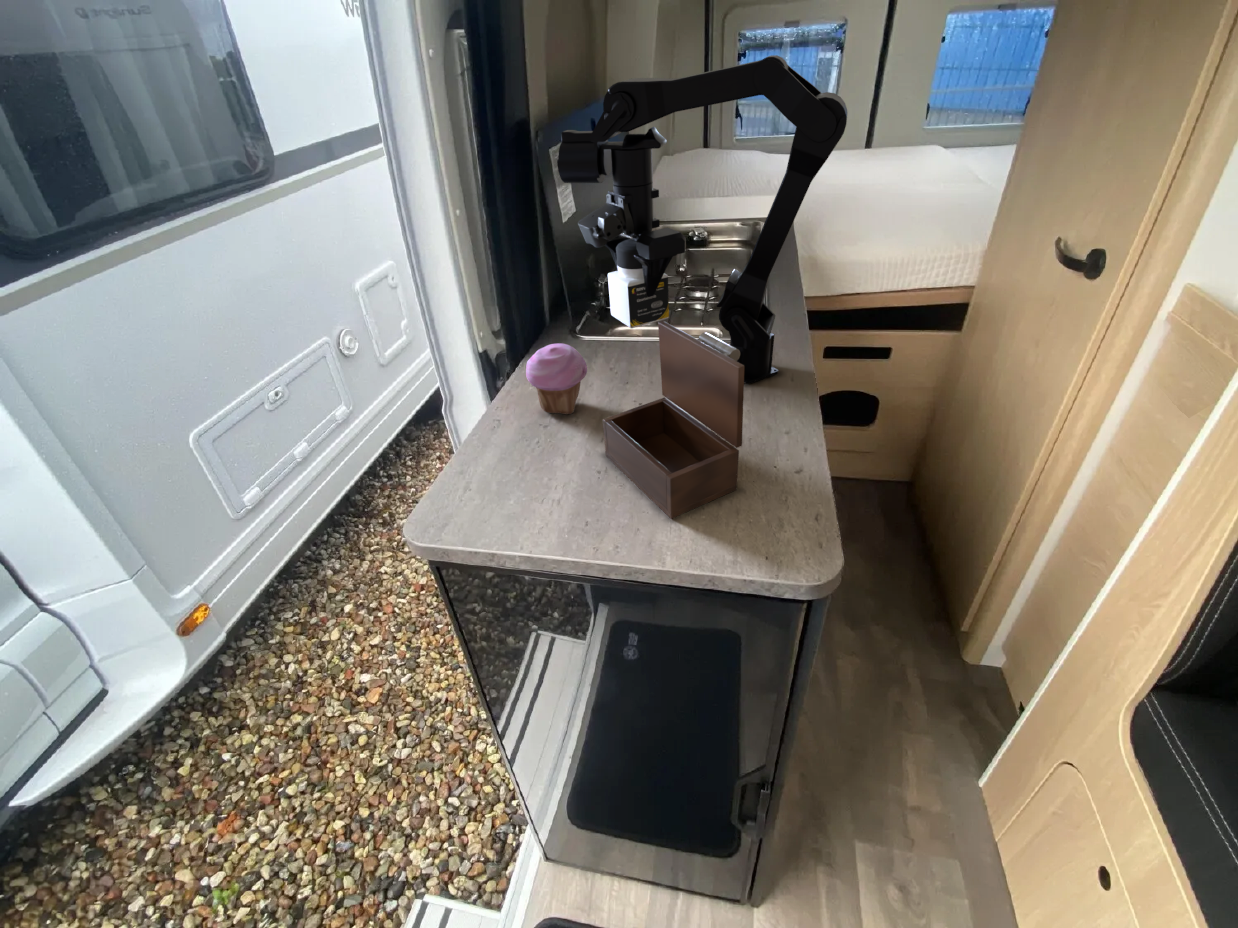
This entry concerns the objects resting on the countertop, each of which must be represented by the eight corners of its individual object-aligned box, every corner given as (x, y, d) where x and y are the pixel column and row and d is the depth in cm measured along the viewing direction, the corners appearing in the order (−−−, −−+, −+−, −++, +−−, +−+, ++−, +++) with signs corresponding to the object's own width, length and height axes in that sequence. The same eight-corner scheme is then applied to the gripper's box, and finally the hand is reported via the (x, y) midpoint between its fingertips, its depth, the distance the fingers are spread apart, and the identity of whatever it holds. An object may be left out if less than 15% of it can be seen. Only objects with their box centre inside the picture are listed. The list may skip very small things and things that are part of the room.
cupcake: (524, 420, 90) (513, 359, 84) (543, 392, 97) (534, 333, 91) (582, 424, 88) (575, 362, 83) (597, 395, 95) (591, 335, 89)
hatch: (738, 367, 64) (769, 355, 65) (657, 322, 75) (685, 312, 77) (736, 448, 70) (765, 435, 71) (662, 395, 81) (687, 385, 83)
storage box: (671, 519, 70) (670, 478, 67) (605, 456, 81) (602, 418, 78) (736, 489, 74) (739, 450, 70) (665, 433, 85) (664, 397, 82)
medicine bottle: (630, 329, 95) (625, 251, 88) (610, 315, 100) (604, 241, 93) (669, 318, 97) (668, 242, 90) (648, 305, 102) (644, 232, 96)
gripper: (554, 182, 91) (566, 285, 100) (616, 203, 77) (623, 320, 86) (618, 171, 95) (624, 270, 104) (688, 189, 81) (687, 302, 90)
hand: (637, 289), depth 96 cm, fingers closed on medicine bottle, 7 cm apart
